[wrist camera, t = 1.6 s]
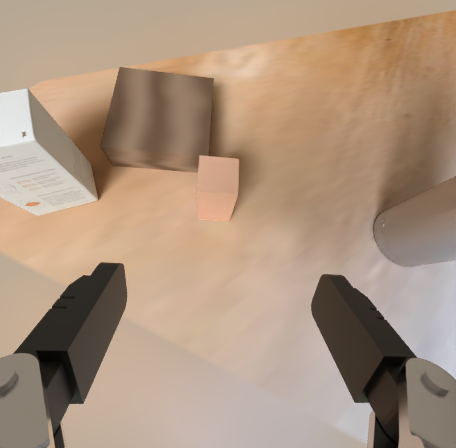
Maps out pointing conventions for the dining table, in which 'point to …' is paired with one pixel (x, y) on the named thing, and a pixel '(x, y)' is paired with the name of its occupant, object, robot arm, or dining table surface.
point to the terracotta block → (217, 187)
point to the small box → (39, 159)
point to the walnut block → (158, 120)
